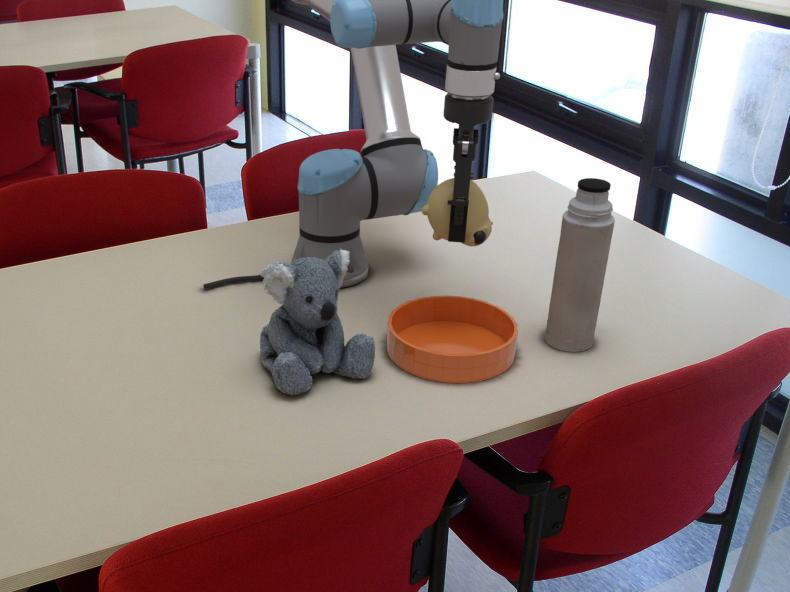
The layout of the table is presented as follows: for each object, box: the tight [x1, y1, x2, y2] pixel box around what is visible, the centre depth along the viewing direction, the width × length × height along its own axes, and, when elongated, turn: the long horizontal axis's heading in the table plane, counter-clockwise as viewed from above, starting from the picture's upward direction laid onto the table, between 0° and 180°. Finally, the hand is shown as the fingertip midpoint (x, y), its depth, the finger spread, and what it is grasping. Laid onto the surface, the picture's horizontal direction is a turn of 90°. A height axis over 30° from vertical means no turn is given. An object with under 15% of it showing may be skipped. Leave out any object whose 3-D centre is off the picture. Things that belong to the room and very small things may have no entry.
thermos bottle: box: [544, 177, 616, 353], centre depth 147 cm, size 8×8×28 cm
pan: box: [386, 294, 519, 384], centre depth 150 cm, size 21×21×5 cm
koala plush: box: [259, 248, 376, 396], centre depth 142 cm, size 17×18×20 cm
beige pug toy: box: [421, 177, 494, 247], centre depth 150 cm, size 10×12×11 cm
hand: (457, 228), depth 152 cm, fingers closed on beige pug toy, 10 cm apart
